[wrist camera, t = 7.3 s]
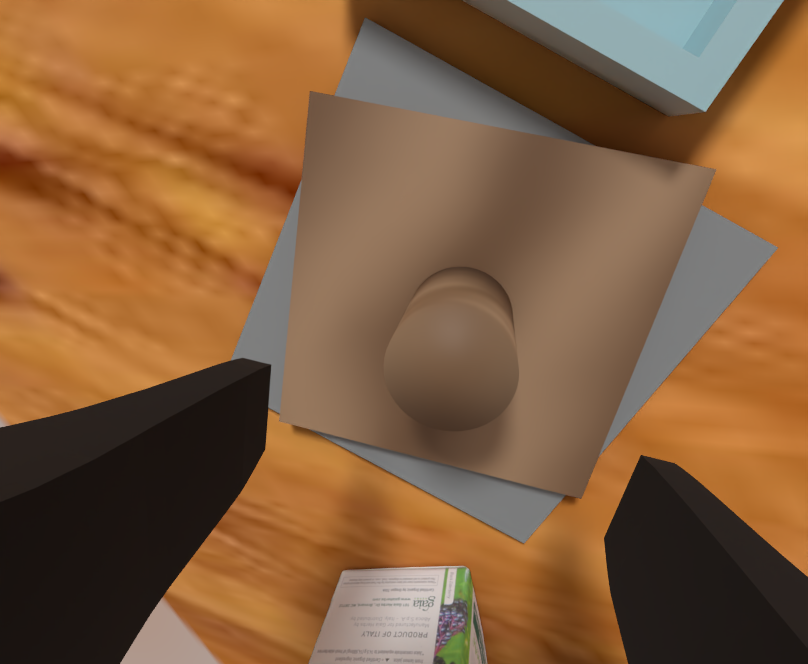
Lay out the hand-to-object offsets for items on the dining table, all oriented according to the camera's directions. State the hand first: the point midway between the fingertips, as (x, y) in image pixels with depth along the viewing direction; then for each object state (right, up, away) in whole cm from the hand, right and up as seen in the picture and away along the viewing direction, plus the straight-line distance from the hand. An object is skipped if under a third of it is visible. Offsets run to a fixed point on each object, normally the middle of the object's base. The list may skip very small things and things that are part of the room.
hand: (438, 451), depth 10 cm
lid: (+1, +3, +6) cm, 7 cm away
